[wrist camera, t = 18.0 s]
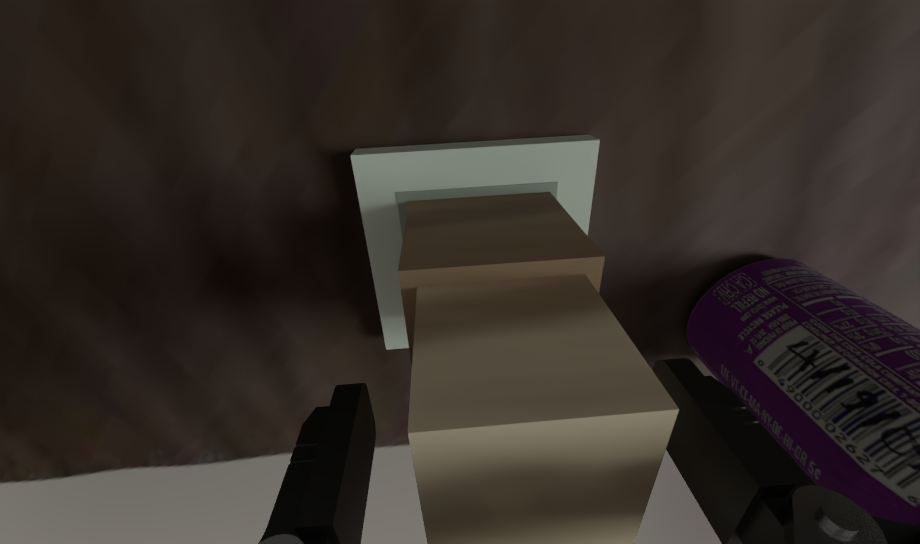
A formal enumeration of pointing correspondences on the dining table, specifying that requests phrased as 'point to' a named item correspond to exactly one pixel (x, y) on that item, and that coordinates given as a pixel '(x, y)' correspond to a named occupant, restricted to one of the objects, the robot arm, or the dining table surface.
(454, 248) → the walnut cube
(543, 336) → the beech cube
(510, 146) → the plate
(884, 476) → the beverage can
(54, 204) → the dining table surface
